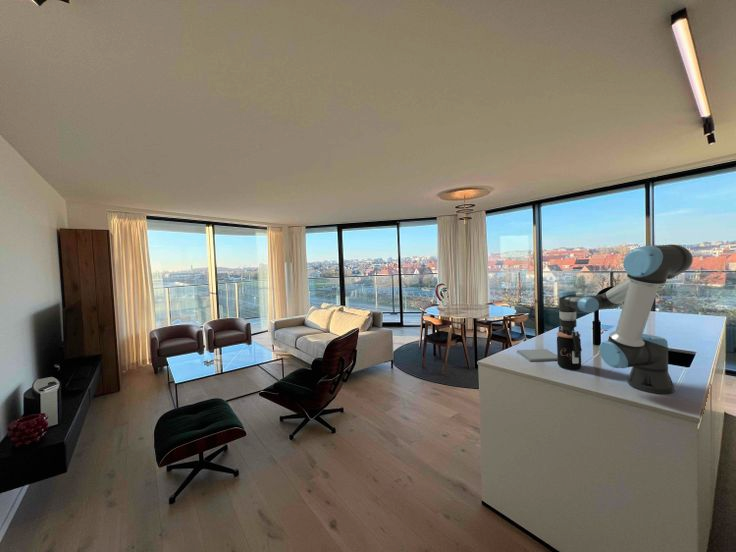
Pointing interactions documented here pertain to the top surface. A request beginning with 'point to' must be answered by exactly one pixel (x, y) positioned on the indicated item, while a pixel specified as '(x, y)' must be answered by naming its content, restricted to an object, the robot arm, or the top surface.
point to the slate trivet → (538, 355)
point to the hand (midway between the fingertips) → (569, 359)
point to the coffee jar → (566, 352)
